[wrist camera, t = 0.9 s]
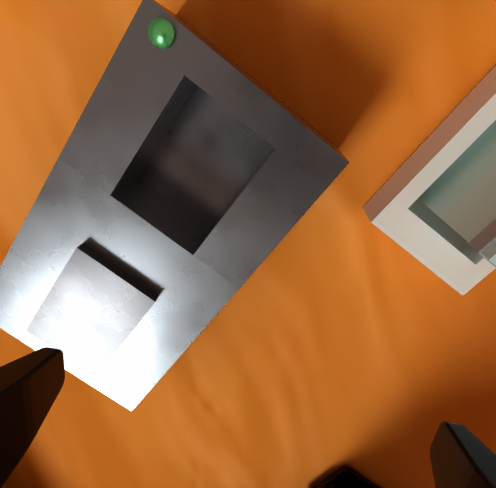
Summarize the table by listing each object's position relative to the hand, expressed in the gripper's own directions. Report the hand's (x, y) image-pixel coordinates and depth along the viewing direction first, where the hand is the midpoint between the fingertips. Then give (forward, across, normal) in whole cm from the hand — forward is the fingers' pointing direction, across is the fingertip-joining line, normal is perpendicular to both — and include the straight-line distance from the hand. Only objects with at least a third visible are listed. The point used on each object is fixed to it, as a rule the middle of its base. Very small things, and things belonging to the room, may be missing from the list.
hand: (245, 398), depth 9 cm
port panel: (+13, +6, +1) cm, 15 cm away
